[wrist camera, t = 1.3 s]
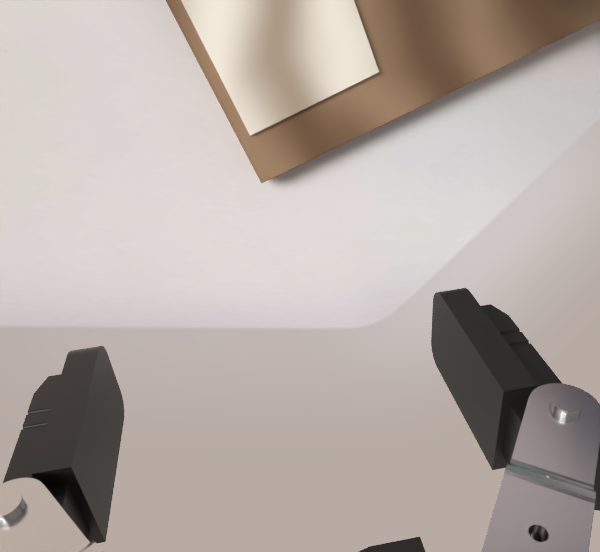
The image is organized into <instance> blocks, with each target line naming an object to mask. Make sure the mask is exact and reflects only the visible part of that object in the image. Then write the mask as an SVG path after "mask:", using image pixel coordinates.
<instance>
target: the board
mask: <svg viewBox="0 0 600 552" xmlns="http://www.w3.org/2000/svg"><path fill="white" fill-rule="evenodd" d="M166 2H167V4H168V6H169V7H170V9H171V11H172V13H173V15H174V17H175V19H176V21H177V23H178V25H179V27H180V28H181V30H182V32H183V34H184V36H185V38H186V40H187V42H188V44H189V46H190V48H191V49H192V51H193V53H194V55H195V57H196V59H197V61H198V63H199V65H200V67H201V69H202V70H203V72H204V74H205V76H206V78H207V80H208V82H209V84H210V86H211V88H212V90H213V91H214V93H215V95H216V97H217V99H218V101H219V103H220V105H221V107H222V109H223V111H224V112H225V114H226V116H227V118H228V120H229V122H230V124H231V126H232V128H233V130H234V132H235V133H236V135H237V137H238V139H239V141H240V143H241V145H242V147H243V149H244V151H245V153H246V154H247V156H248V158H249V160H250V162H251V164H252V166H253V168H254V170H255V172H256V174H257V175H258V177H259V179H260V181H261V183H263V182H265V181H267V180H269V179H272V178H274V177H276V176H278V175H280V174H282V173H284V172H286V171H288V170H290V169H292V168H294V167H296V166H298V165H301V164H303V163H305V162H307V161H309V160H311V159H313V158H315V157H317V156H319V155H321V154H323V153H325V152H327V151H329V150H332V149H334V148H336V147H338V146H340V145H342V144H344V143H346V142H348V141H350V140H352V139H354V138H356V137H358V136H360V135H363V134H365V133H367V132H369V131H371V130H373V129H375V128H377V127H379V126H381V125H383V124H385V123H387V122H389V121H391V120H394V119H396V118H398V117H400V116H402V115H404V114H406V113H408V112H410V111H412V110H414V109H416V108H418V107H420V106H422V105H425V104H427V103H429V102H431V101H433V100H435V99H437V98H439V97H441V96H443V95H445V94H447V93H449V92H451V91H453V90H456V89H458V88H460V87H462V86H464V85H466V84H468V83H470V82H472V81H474V80H476V79H478V78H480V77H482V76H484V75H487V74H489V73H491V72H493V71H495V70H497V69H499V68H501V67H503V66H505V65H507V64H509V63H511V62H513V61H516V60H518V59H520V58H522V57H524V56H526V55H528V54H530V53H532V52H534V51H536V50H538V49H540V48H542V47H544V46H547V45H549V44H551V43H553V42H555V41H557V40H559V39H561V38H563V37H565V36H567V35H569V34H571V33H573V32H575V31H578V30H580V29H582V28H584V27H586V26H588V25H590V24H592V23H594V22H596V21H598V20H600V0H166Z"/></svg>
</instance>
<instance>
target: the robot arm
mask: <svg viewBox="0 0 600 552" xmlns="http://www.w3.org/2000/svg"><path fill="white" fill-rule="evenodd" d="M431 343H432V352H433V357H434V360H435V363H436V365H437V368H438V369H439V371H440V373H441V375H442V377H443V379H444V381H445V382H446V384H447V386H448V388H449V390H450V392H451V394H452V395H453V397H454V399H455V401H456V403H457V405H458V406H459V408H460V410H461V412H462V414H463V416H464V418H465V420H466V421H467V423H468V425H469V427H470V429H471V431H472V433H473V434H474V436H475V438H476V440H477V442H478V444H479V446H480V448H481V449H482V451H483V453H484V455H485V457H486V459H487V460H488V462H489V464H490V466H491V468H492V470H495V469H500V468H506V469H505V473H504V476H503V480H502V483H501V486H500V490H499V493H498V497H497V500H496V504H495V507H494V510H493V514H492V517H491V521H490V524H489V528H488V532H487V535H486V538H485V541H484V545H483V548H482V552H589V544H590V537H591V530H592V522H593V515H594V510H600V404H599V403H598V402H597V400H596V399H595V398H593V396H591V395H590V394H589V393H587V392H585V391H584V390H582V389H579V388H577V387H574V386H571V385H567V384H562V383H561V381H560V380H559V379H558V378H557V376H556V375H555V374H554V372H553V371H552V370H551V369H550V367H549V366H548V365H547V364H546V362H545V361H544V360H543V359H542V357H541V356H540V355H539V354H538V352H537V351H536V350H535V349H534V347H533V346H532V345H531V344H529V343H528V340H527V339H526V337H525V336H524V335H523V333H522V332H520V331H519V328H518V327H517V326H516V325H515V323H514V322H513V321H512V320H511V318H510V317H509V316H508V315H507V314H505V313H504V312H502V311H500V310H499V309H497V308H495V307H494V306H492V305H485V306H480V305H479V303H478V302H477V301H476V299H475V298H474V297H473V295H472V294H471V293H470V291H469V290H468V289H466V288H462V289H457V290H450V291H444V292H438V293H435V295H434V299H433V317H432V340H431ZM123 421H124V405H123V399H122V394H121V391H120V388H119V385H118V383H117V380H116V377H115V374H114V371H113V368H112V366H111V363H110V360H109V357H108V354H107V352H106V350H105V348H104V347H103V346H99V347H93V348H87V349H81V350H74V351H70V352H69V353H68V355H67V358H66V362H65V364H64V368H63V371H62V374H61V375H55V376H49V377H48V378H47V379H46V380H45V381H44V383H43V384H42V385H41V386H40V387H39V389H38V390H37V391H36V392H35V393H34V396H33V398H32V401H31V404H30V407H29V410H28V415H26V418H25V421H24V424H23V430H21V433H20V435H19V438H18V441H17V444H16V447H15V450H14V453H13V456H12V458H11V461H10V464H9V467H8V470H7V473H6V475H5V478H4V482H3V484H1V485H0V552H104V551H103V550H102V549H101V548H100V546H99V545H98V544H97V543H101V542H105V541H106V534H107V528H108V521H109V515H110V508H111V501H112V495H113V488H114V481H115V475H116V468H117V461H118V455H119V448H120V441H121V435H122V428H123ZM360 552H425V550H424V547H423V544H422V541H421V538H420V537H416V538H411V539H406V540H401V541H396V542H391V543H386V544H381V545H376V546H371V547H368V548H366V549H364V550H361V551H360Z"/></svg>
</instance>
